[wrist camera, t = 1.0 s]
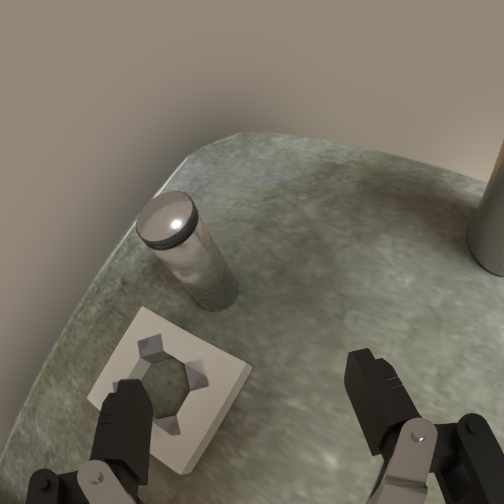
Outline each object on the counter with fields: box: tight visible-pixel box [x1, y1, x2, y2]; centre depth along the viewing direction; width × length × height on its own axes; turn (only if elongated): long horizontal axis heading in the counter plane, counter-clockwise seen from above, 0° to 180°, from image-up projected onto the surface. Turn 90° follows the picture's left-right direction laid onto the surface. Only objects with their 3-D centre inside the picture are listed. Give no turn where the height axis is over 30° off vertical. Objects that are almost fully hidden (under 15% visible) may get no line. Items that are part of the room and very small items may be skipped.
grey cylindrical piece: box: [136, 191, 239, 311], centre depth 31 cm, size 5×5×14 cm
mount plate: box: [87, 306, 253, 475], centre depth 30 cm, size 13×14×2 cm
